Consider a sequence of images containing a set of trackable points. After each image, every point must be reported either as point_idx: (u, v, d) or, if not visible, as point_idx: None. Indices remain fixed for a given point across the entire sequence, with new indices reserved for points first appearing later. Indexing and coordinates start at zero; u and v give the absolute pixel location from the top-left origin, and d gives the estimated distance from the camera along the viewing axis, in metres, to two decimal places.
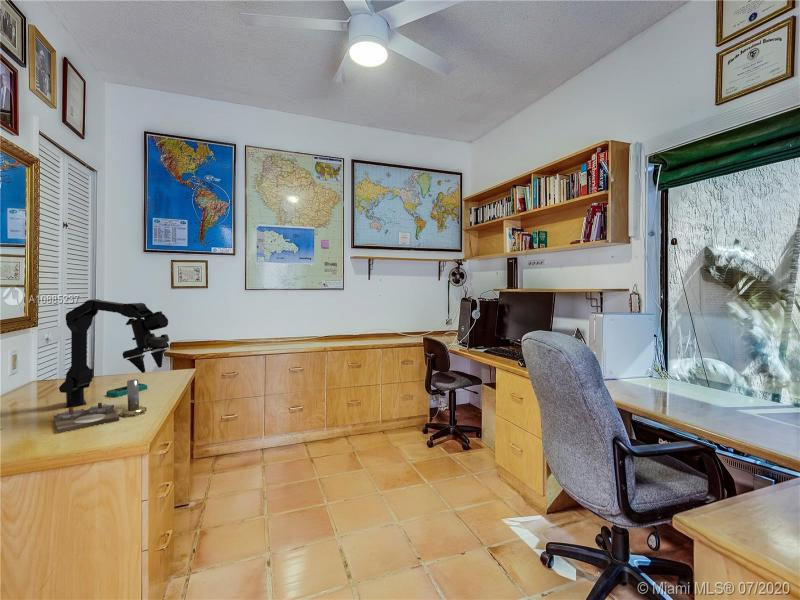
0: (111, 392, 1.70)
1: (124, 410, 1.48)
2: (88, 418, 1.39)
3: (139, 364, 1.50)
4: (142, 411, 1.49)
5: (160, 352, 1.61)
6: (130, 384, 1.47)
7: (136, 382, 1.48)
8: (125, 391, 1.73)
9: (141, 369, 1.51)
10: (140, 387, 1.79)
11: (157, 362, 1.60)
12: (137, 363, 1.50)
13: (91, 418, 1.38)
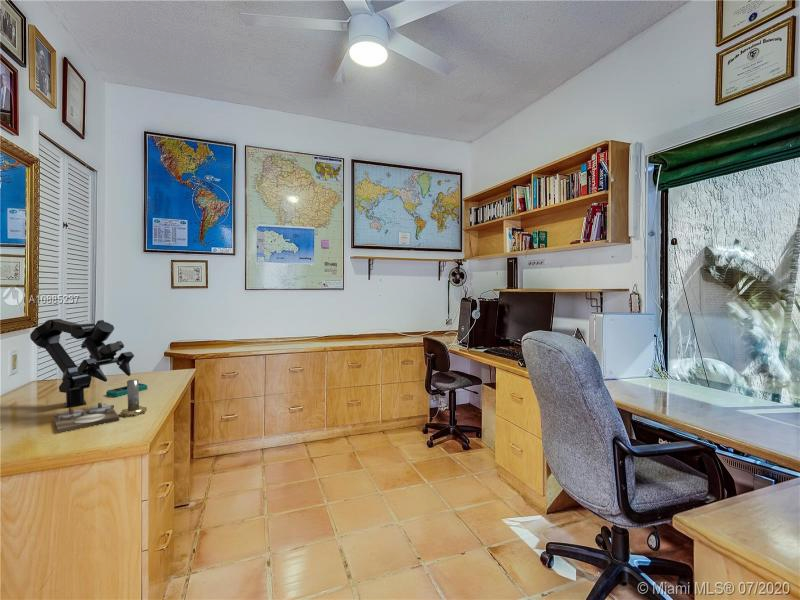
0: (111, 392, 1.70)
1: (124, 410, 1.48)
2: (88, 418, 1.39)
3: (98, 374, 1.46)
4: (142, 411, 1.49)
5: (124, 361, 1.57)
6: (130, 384, 1.47)
7: (136, 382, 1.48)
8: (125, 391, 1.73)
9: (102, 378, 1.46)
10: (140, 387, 1.79)
11: (125, 372, 1.56)
12: (96, 374, 1.46)
13: (91, 418, 1.38)
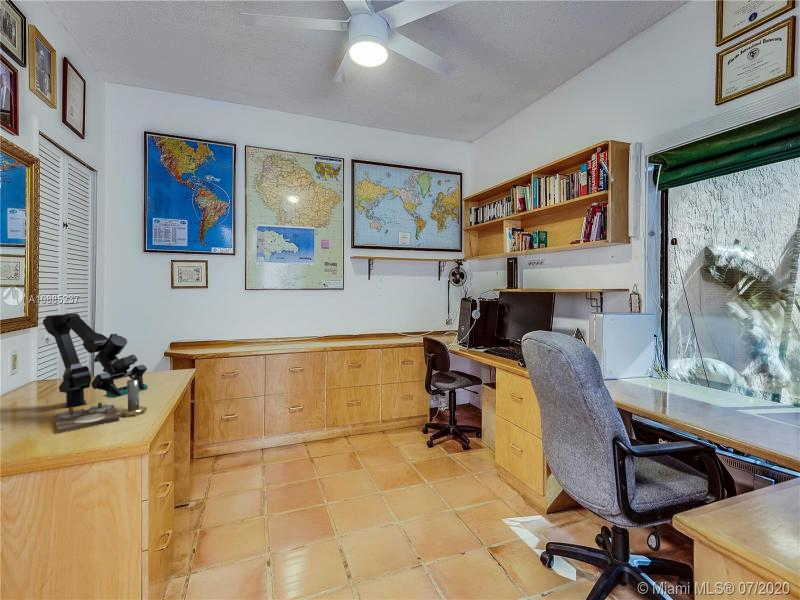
0: None
1: (124, 410, 1.48)
2: (88, 418, 1.39)
3: (112, 389, 1.44)
4: (142, 411, 1.49)
5: (137, 375, 1.55)
6: (130, 384, 1.47)
7: (136, 382, 1.48)
8: (124, 391, 1.73)
9: (116, 393, 1.44)
10: None
11: (139, 385, 1.54)
12: (110, 389, 1.45)
13: (91, 418, 1.38)
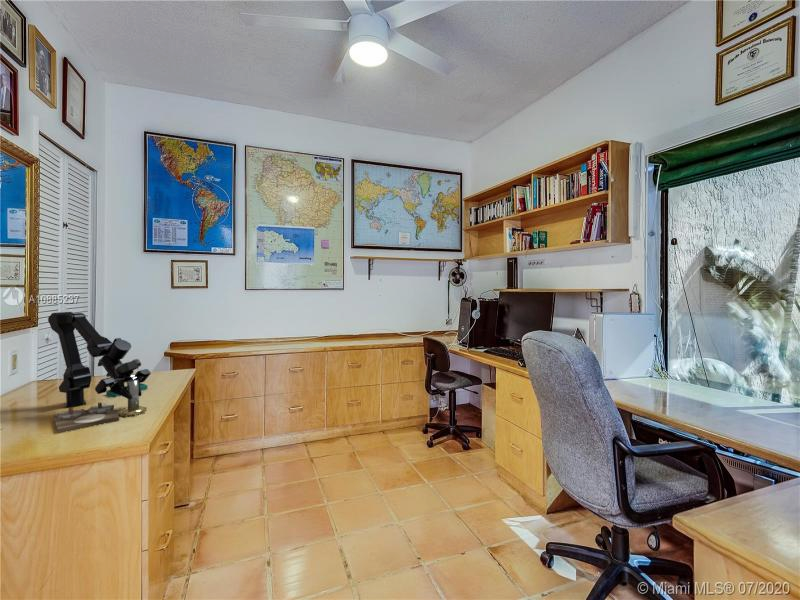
0: None
1: (124, 410, 1.48)
2: (88, 418, 1.39)
3: (122, 392, 1.46)
4: (142, 411, 1.49)
5: None
6: (130, 384, 1.47)
7: (136, 382, 1.48)
8: None
9: (127, 396, 1.46)
10: (140, 387, 1.79)
11: None
12: (121, 392, 1.46)
13: (91, 418, 1.38)
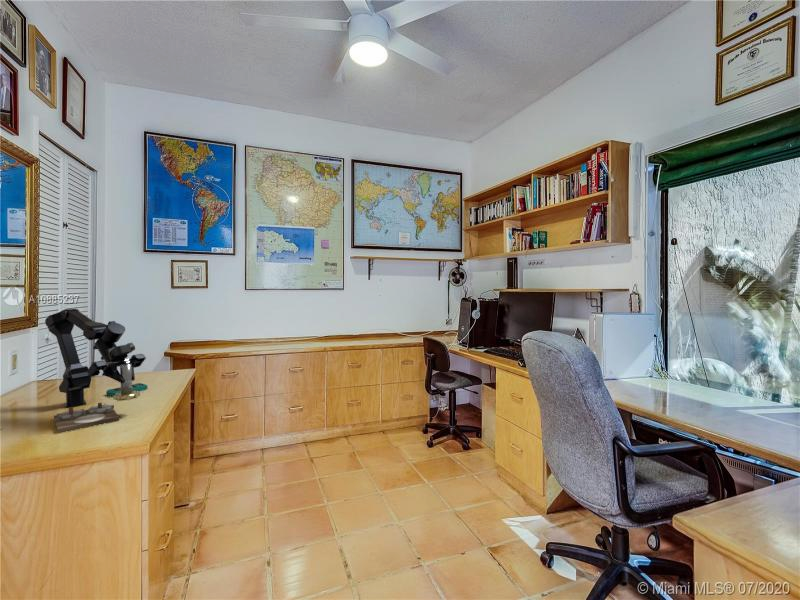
0: (110, 392, 1.71)
1: (117, 394, 1.46)
2: (88, 418, 1.39)
3: (115, 375, 1.44)
4: (135, 395, 1.46)
5: None
6: (123, 367, 1.45)
7: (129, 366, 1.46)
8: None
9: (119, 380, 1.44)
10: (140, 387, 1.79)
11: None
12: (113, 375, 1.44)
13: (91, 418, 1.38)
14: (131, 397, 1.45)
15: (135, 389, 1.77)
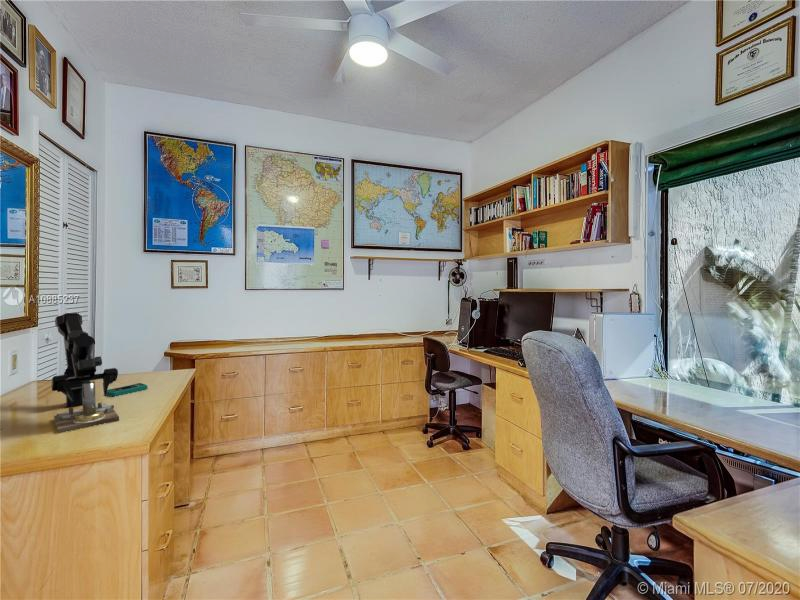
0: (109, 391, 1.71)
1: None
2: None
3: (67, 392, 1.35)
4: (94, 417, 1.37)
5: (104, 379, 1.43)
6: (83, 387, 1.37)
7: (90, 385, 1.37)
8: (123, 391, 1.73)
9: (70, 397, 1.34)
10: (139, 387, 1.79)
11: None
12: (66, 392, 1.35)
13: None
14: (89, 419, 1.36)
15: (135, 389, 1.77)
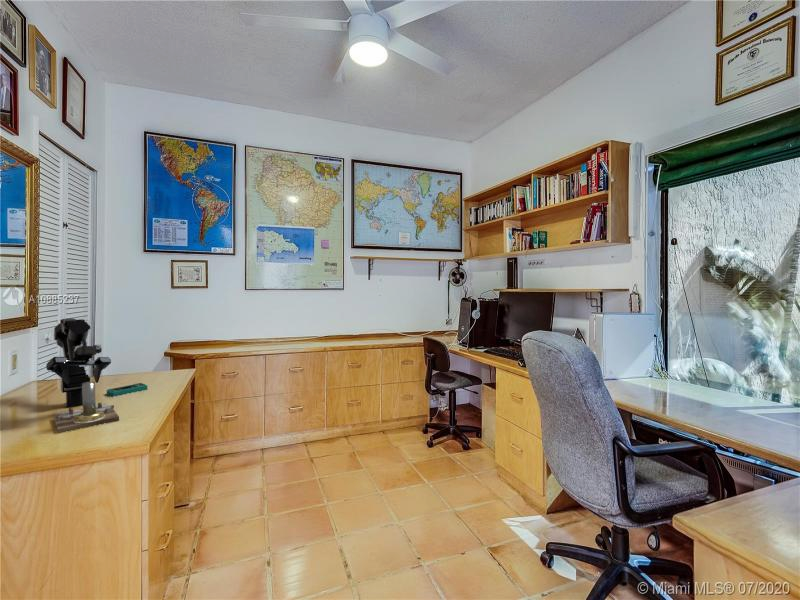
0: (109, 391, 1.72)
1: None
2: None
3: (63, 374, 1.41)
4: (94, 417, 1.37)
5: (98, 366, 1.51)
6: (83, 387, 1.37)
7: (90, 385, 1.37)
8: (122, 391, 1.73)
9: (65, 380, 1.41)
10: (139, 387, 1.79)
11: (95, 377, 1.49)
12: (62, 374, 1.41)
13: None
14: (89, 419, 1.36)
15: (134, 389, 1.77)
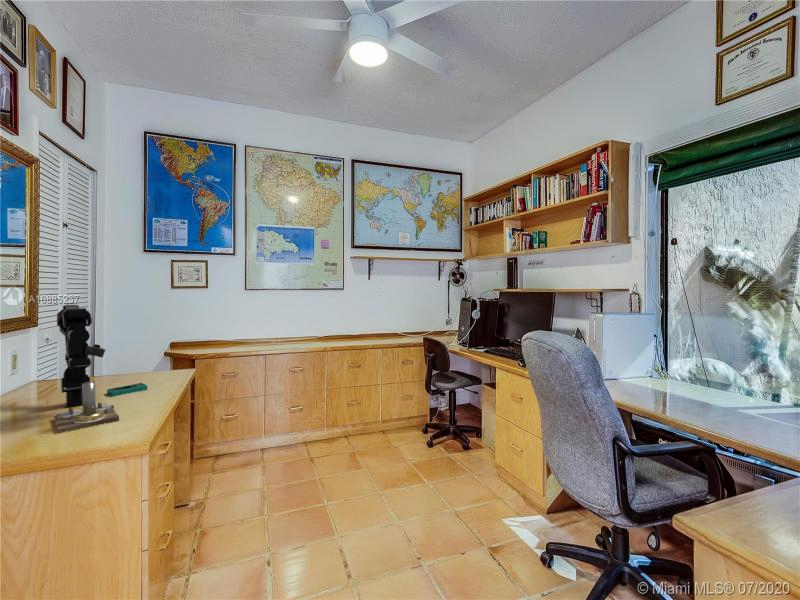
0: (109, 391, 1.72)
1: None
2: None
3: (80, 373, 1.44)
4: (94, 417, 1.37)
5: None
6: (83, 387, 1.37)
7: (90, 385, 1.37)
8: (122, 391, 1.73)
9: (79, 379, 1.44)
10: (139, 387, 1.79)
11: None
12: (77, 372, 1.44)
13: None
14: (89, 419, 1.36)
15: (134, 389, 1.77)
